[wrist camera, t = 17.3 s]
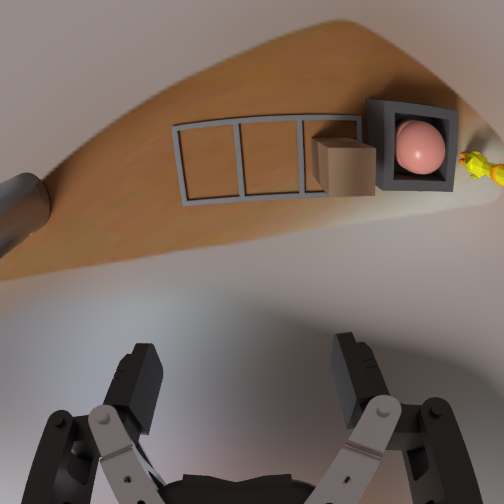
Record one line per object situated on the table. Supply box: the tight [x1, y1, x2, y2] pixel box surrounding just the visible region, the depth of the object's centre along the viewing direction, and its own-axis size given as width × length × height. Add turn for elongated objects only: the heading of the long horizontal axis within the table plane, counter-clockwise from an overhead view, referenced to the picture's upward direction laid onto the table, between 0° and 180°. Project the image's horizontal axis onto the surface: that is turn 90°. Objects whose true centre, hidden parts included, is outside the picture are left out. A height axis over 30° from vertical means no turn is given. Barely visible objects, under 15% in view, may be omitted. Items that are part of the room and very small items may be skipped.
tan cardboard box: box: [311, 137, 376, 197], centre depth 28 cm, size 4×4×9 cm
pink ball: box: [394, 119, 445, 174], centre depth 27 cm, size 6×6×6 cm
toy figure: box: [460, 150, 504, 187], centre depth 26 cm, size 7×4×12 cm, turn 95°
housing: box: [366, 99, 457, 192], centre depth 29 cm, size 10×10×5 cm
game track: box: [172, 115, 362, 206], centre depth 33 cm, size 22×10×1 cm, turn 94°
